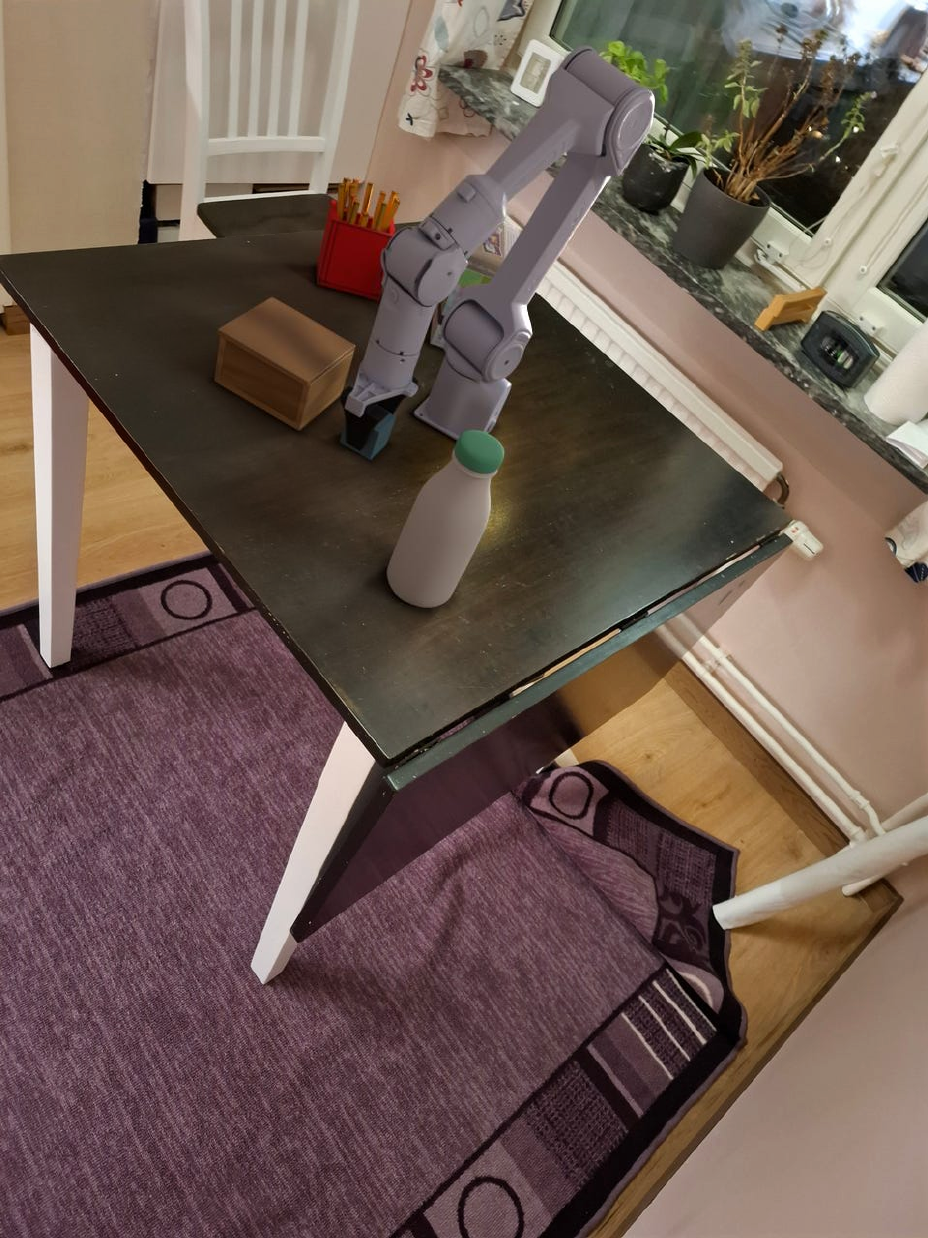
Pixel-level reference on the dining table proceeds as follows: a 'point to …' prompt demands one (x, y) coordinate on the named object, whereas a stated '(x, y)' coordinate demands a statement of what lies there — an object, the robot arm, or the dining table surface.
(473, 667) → the dining table surface
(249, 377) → the box
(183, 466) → the dining table surface
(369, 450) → the block
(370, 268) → the french fries container
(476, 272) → the tea box
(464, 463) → the milk bottle
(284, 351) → the box lid
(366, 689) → the dining table surface
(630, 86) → the robot arm
